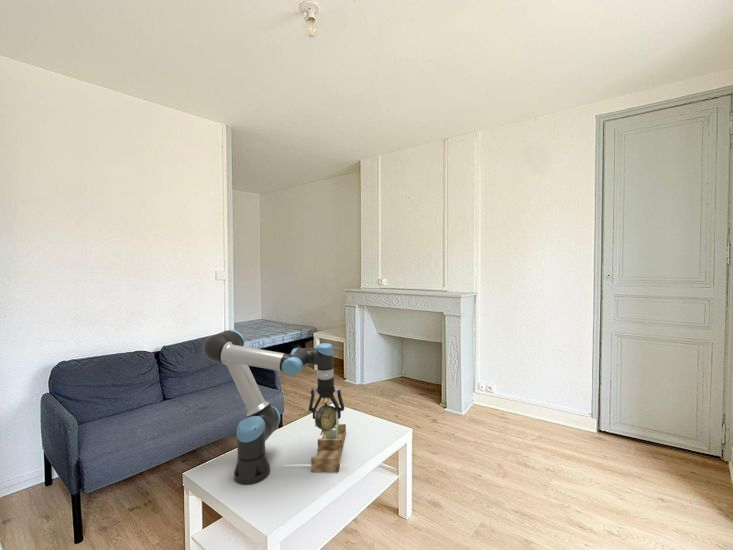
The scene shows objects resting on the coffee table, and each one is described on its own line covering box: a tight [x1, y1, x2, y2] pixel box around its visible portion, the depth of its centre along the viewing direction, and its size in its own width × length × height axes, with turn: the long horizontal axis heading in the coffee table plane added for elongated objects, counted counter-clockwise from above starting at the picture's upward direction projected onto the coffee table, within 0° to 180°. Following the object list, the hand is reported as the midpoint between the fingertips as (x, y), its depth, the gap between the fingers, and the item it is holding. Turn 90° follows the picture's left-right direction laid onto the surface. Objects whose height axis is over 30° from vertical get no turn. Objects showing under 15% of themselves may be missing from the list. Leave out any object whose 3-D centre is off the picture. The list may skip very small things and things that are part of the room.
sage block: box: [326, 426, 338, 439], centre depth 179 cm, size 5×9×8 cm, turn 178°
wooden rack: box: [310, 423, 347, 473], centre depth 171 cm, size 12×33×6 cm, turn 178°
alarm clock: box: [314, 398, 337, 436], centre depth 162 cm, size 11×5×16 cm, turn 136°
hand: (327, 425), depth 163 cm, fingers closed on alarm clock, 9 cm apart
